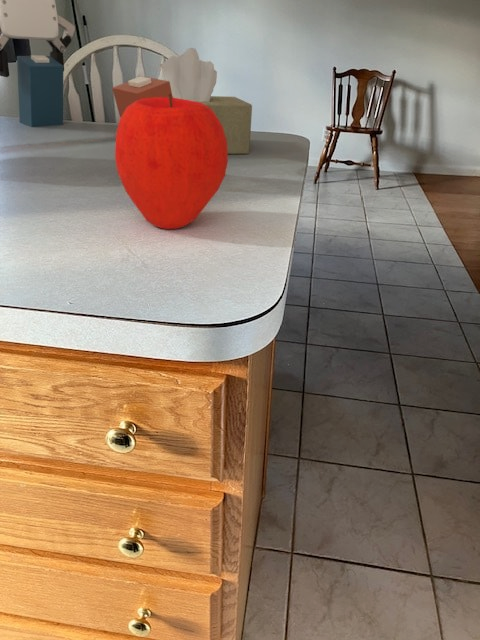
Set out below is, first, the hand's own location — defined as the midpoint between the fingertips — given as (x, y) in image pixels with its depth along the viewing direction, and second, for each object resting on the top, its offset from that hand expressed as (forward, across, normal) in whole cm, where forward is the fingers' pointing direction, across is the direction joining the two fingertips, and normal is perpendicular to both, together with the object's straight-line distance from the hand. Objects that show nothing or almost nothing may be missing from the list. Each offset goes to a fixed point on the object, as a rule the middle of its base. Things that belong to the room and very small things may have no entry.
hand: (31, 76), depth 95 cm
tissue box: (+10, -17, +24) cm, 31 cm away
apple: (+10, +9, +54) cm, 56 cm away
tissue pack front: (+4, +3, +37) cm, 37 cm away
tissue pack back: (+3, -1, +4) cm, 5 cm away
